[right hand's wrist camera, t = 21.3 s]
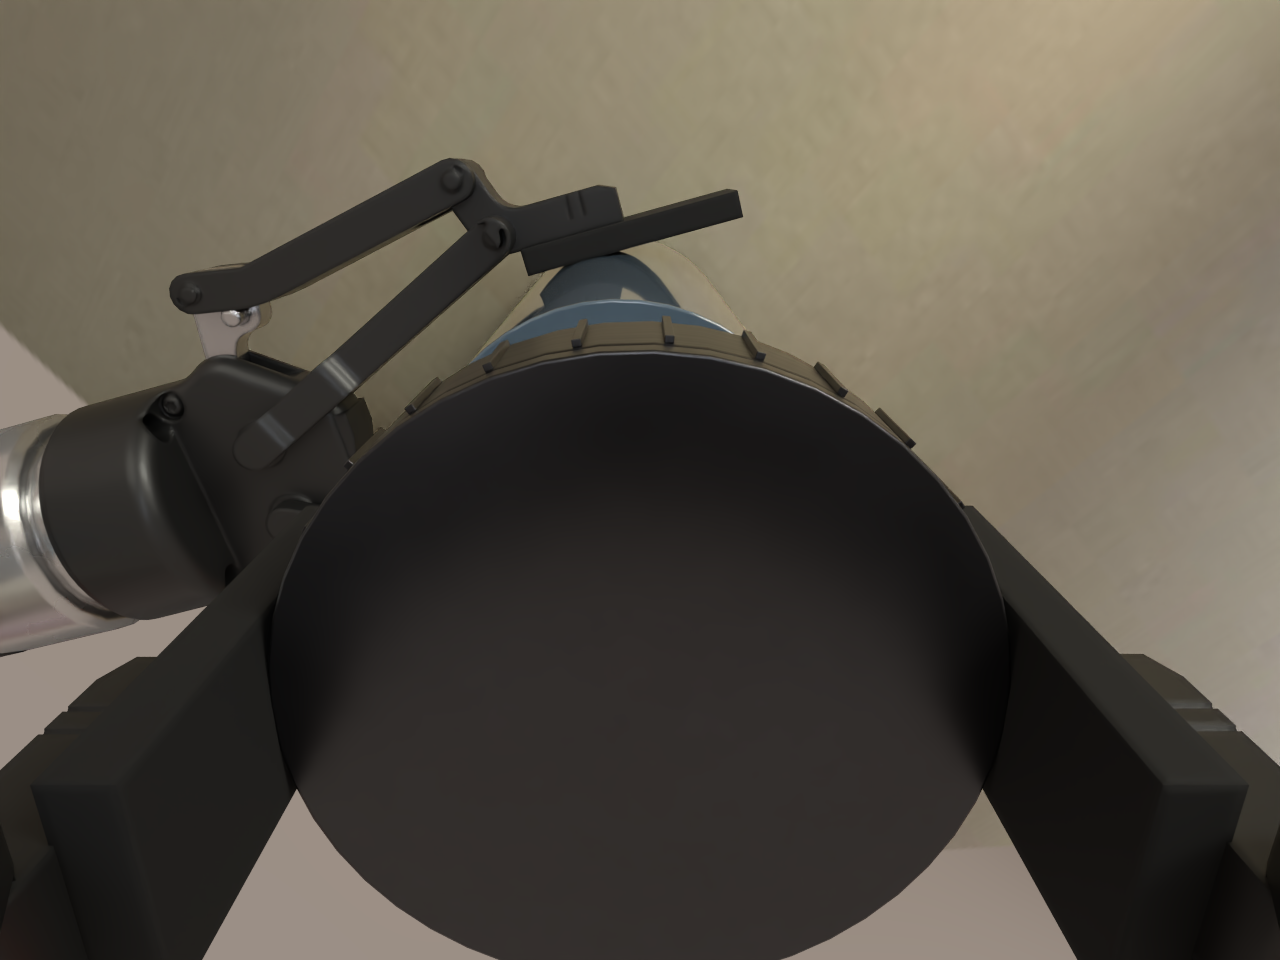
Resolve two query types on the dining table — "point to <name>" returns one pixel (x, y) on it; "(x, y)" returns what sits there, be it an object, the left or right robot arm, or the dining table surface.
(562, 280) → the jar
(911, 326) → the dining table surface
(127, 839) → the right robot arm
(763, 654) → the lid
